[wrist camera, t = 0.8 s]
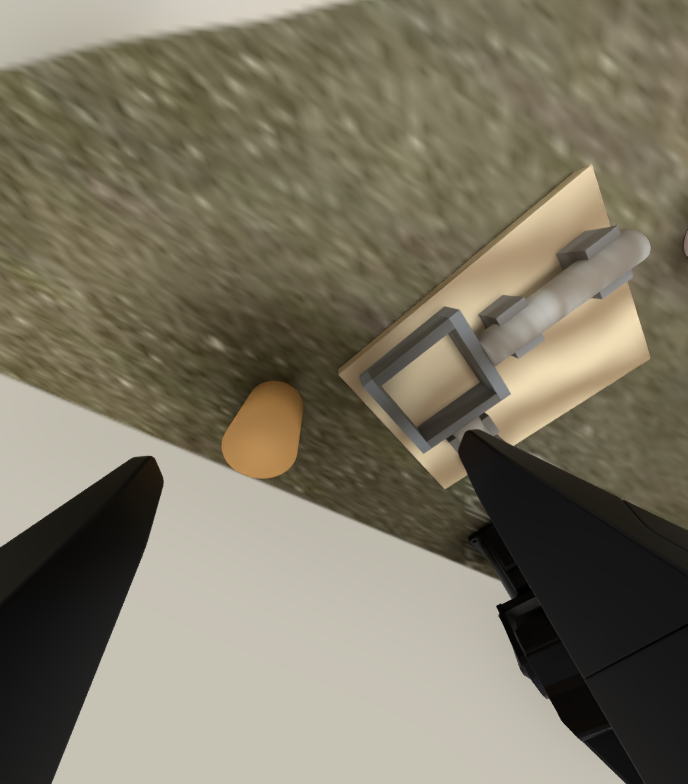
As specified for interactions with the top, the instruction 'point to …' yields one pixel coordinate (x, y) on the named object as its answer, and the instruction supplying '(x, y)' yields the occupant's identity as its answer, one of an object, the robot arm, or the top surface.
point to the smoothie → (686, 244)
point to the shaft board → (540, 368)
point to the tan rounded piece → (265, 431)
